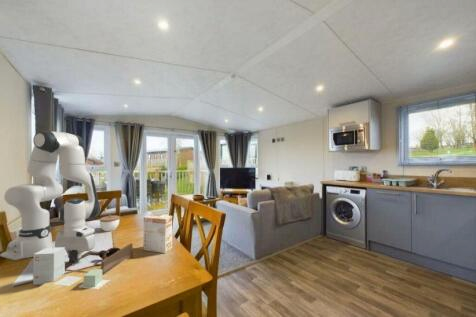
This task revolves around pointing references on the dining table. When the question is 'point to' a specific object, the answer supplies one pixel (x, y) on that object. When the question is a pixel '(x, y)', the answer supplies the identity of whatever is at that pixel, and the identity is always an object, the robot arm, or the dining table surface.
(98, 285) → the broken strip
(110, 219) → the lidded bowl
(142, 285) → the dining table surface
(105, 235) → the dining table surface
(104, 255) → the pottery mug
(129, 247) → the sled strip
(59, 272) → the small box
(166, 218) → the coffeecake box
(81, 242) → the robot arm
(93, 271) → the sage cube
